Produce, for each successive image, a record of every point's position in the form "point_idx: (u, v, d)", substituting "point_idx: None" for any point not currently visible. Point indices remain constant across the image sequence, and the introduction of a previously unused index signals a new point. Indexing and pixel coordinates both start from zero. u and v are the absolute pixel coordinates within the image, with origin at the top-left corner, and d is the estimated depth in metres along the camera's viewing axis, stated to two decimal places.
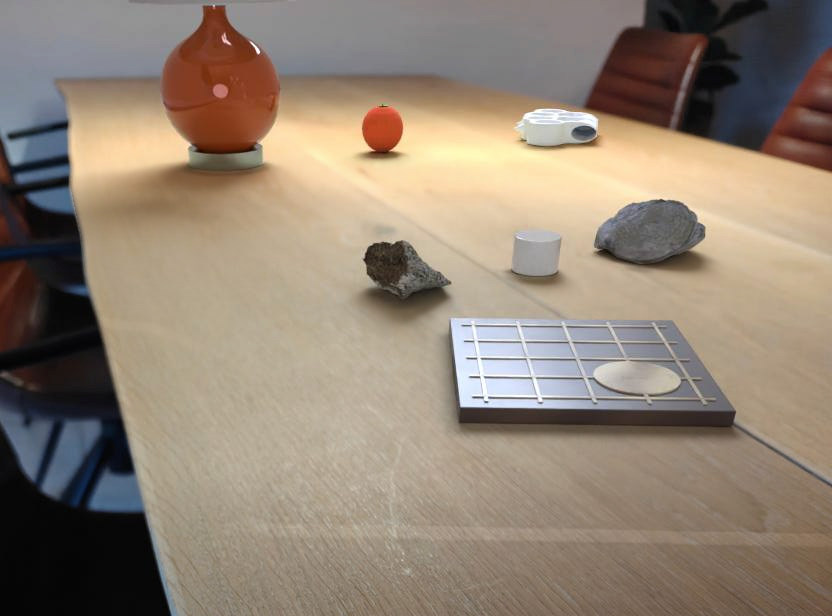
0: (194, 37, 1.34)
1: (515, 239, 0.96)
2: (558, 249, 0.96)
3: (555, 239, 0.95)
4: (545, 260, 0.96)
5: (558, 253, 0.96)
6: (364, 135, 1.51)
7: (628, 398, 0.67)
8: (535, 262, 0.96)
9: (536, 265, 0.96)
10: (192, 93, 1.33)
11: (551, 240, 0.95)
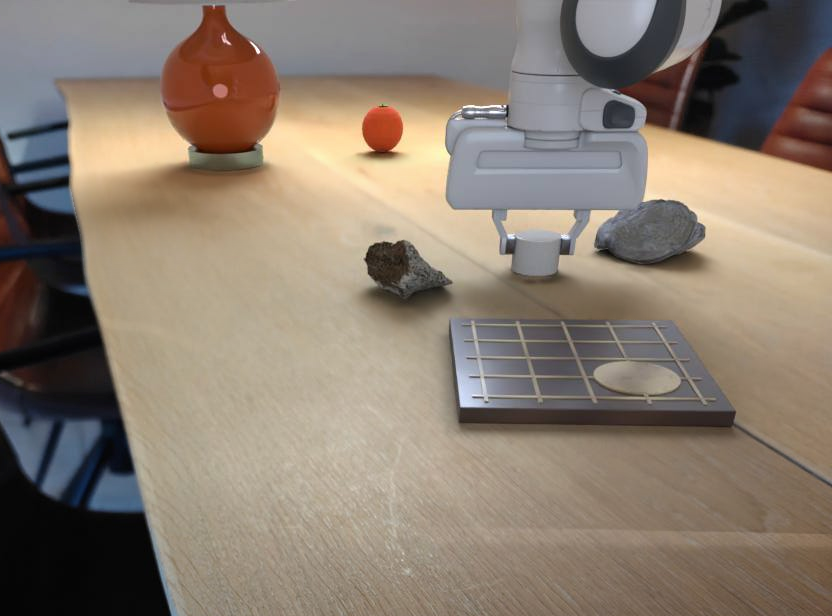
0: (194, 37, 1.34)
1: (515, 239, 0.96)
2: (558, 249, 0.96)
3: (555, 239, 0.95)
4: (545, 260, 0.96)
5: (558, 253, 0.96)
6: (364, 135, 1.51)
7: (628, 398, 0.67)
8: (535, 262, 0.96)
9: (536, 265, 0.96)
10: (192, 93, 1.33)
11: (551, 240, 0.95)
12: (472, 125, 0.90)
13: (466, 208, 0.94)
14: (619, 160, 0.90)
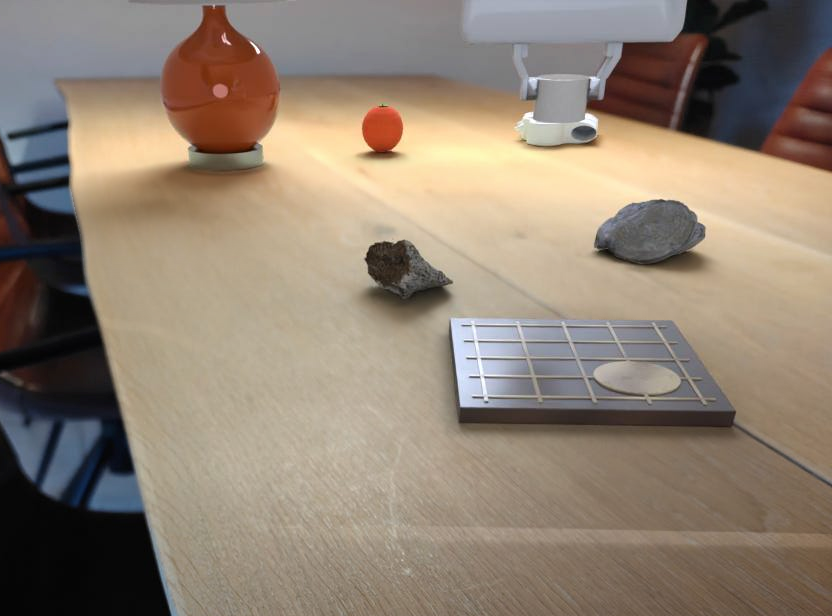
0: (194, 37, 1.34)
1: None
2: (585, 91, 0.86)
3: (582, 79, 0.85)
4: (571, 103, 0.85)
5: (585, 97, 0.86)
6: (364, 135, 1.51)
7: (628, 398, 0.67)
8: (560, 105, 0.85)
9: (560, 109, 0.86)
10: (192, 93, 1.33)
11: (578, 79, 0.85)
12: None
13: (483, 42, 0.83)
14: None
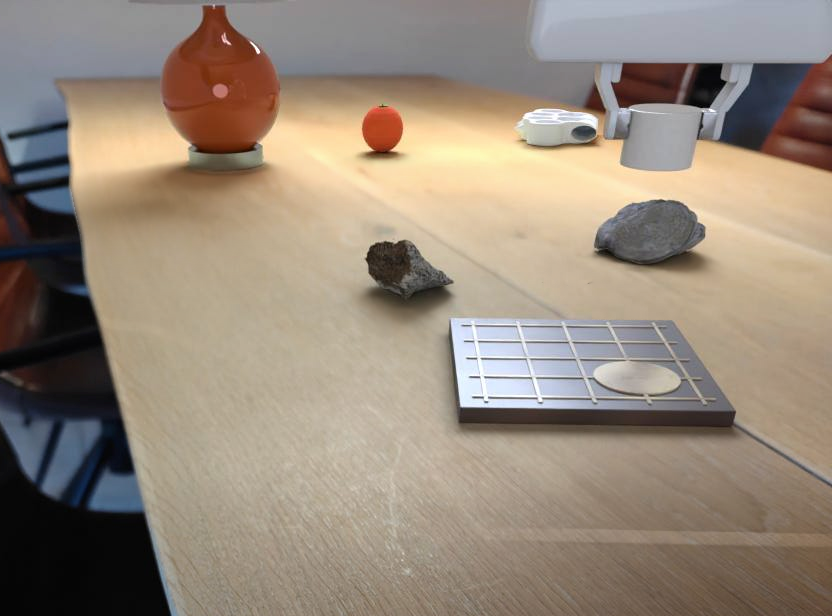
0: (194, 37, 1.34)
1: None
2: (697, 129, 0.62)
3: (694, 112, 0.61)
4: (677, 145, 0.62)
5: (696, 136, 0.63)
6: (364, 135, 1.51)
7: (628, 398, 0.67)
8: (662, 148, 0.62)
9: (662, 153, 0.62)
10: (192, 93, 1.33)
11: (689, 113, 0.61)
12: None
13: (559, 60, 0.60)
14: None
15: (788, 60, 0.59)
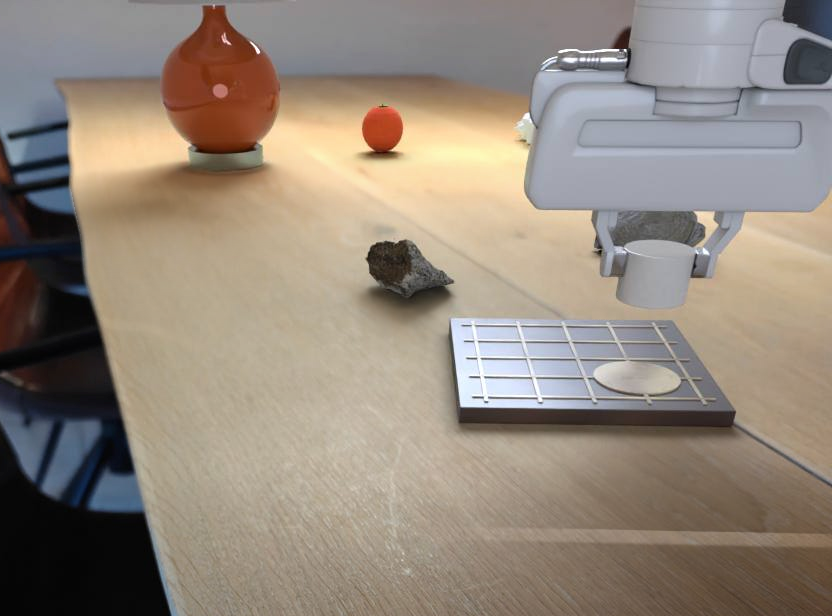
0: (194, 37, 1.34)
1: None
2: (691, 270, 0.64)
3: (688, 255, 0.63)
4: (672, 286, 0.64)
5: (690, 275, 0.65)
6: (364, 135, 1.51)
7: (628, 398, 0.67)
8: (657, 288, 0.64)
9: (657, 293, 0.64)
10: (192, 93, 1.33)
11: (683, 256, 0.63)
12: (573, 80, 0.58)
13: (557, 208, 0.62)
14: (798, 135, 0.59)
15: (778, 210, 0.61)
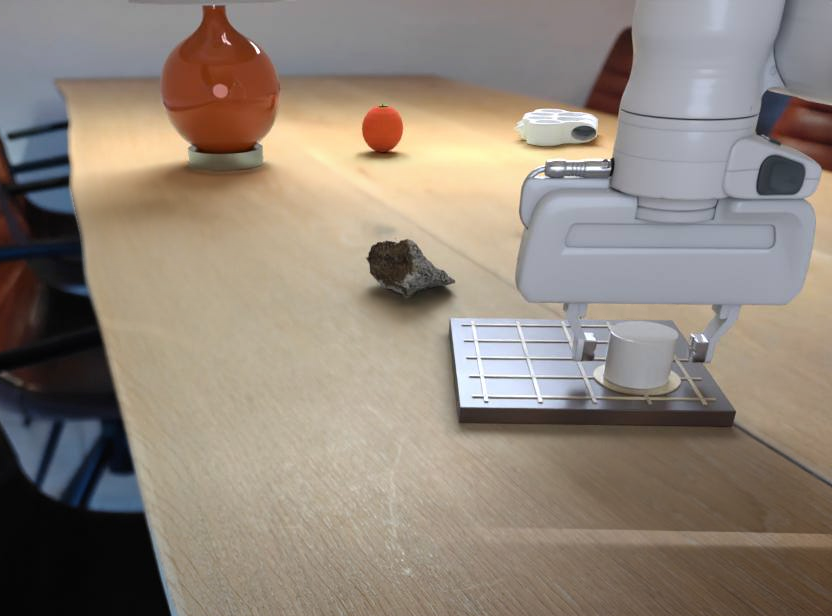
0: (194, 37, 1.34)
1: (612, 337, 0.68)
2: (673, 352, 0.68)
3: (670, 339, 0.67)
4: (655, 368, 0.68)
5: (672, 357, 0.68)
6: (364, 135, 1.51)
7: (628, 398, 0.67)
8: (641, 370, 0.68)
9: (642, 374, 0.68)
10: (192, 93, 1.33)
11: (665, 341, 0.67)
12: (560, 187, 0.62)
13: (546, 301, 0.66)
14: (771, 237, 0.63)
15: (754, 303, 0.65)
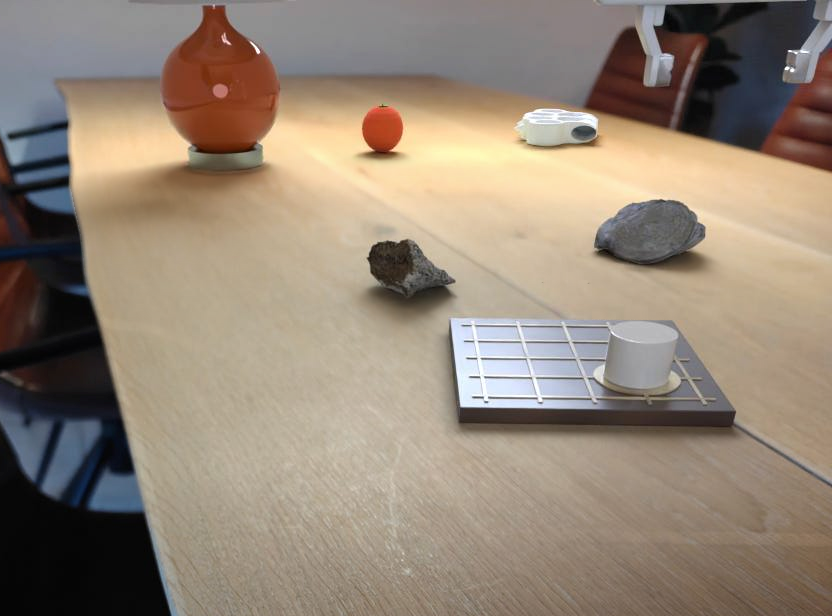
0: (194, 37, 1.34)
1: (612, 337, 0.68)
2: (673, 352, 0.68)
3: (670, 339, 0.67)
4: (655, 368, 0.68)
5: (672, 357, 0.68)
6: (364, 135, 1.51)
7: (628, 398, 0.67)
8: (641, 370, 0.68)
9: (642, 374, 0.68)
10: (192, 93, 1.33)
11: (665, 341, 0.67)
12: None
13: (624, 2, 0.58)
14: None
15: None
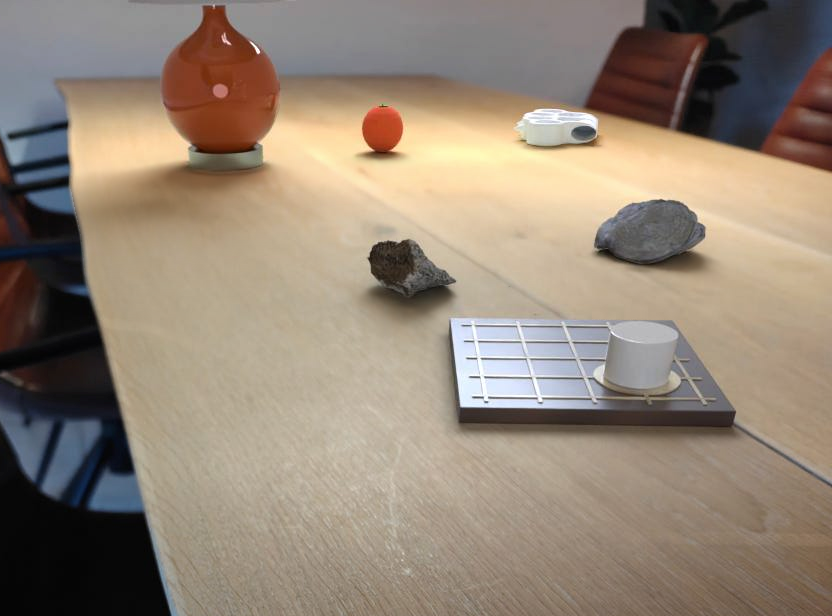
0: (194, 37, 1.34)
1: (612, 337, 0.68)
2: (673, 352, 0.68)
3: (670, 339, 0.67)
4: (655, 368, 0.68)
5: (672, 357, 0.68)
6: (364, 135, 1.51)
7: (628, 398, 0.67)
8: (641, 370, 0.68)
9: (642, 374, 0.68)
10: (192, 93, 1.33)
11: (665, 341, 0.67)
12: None
13: None
14: None
15: None
